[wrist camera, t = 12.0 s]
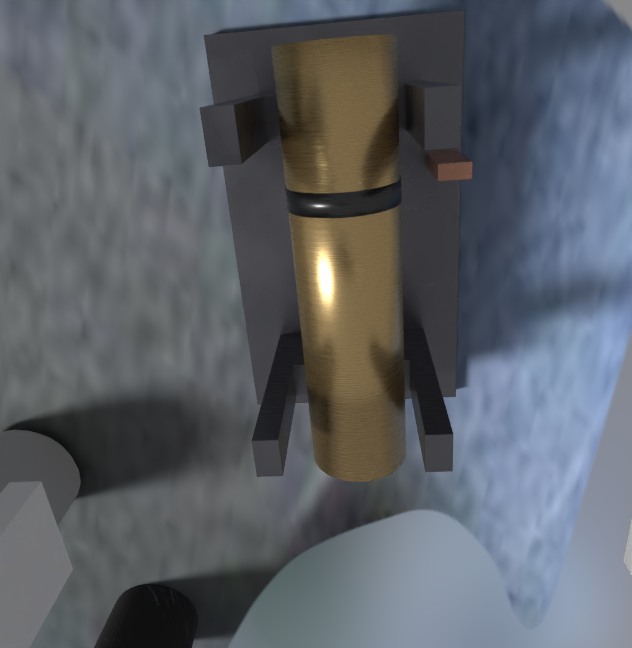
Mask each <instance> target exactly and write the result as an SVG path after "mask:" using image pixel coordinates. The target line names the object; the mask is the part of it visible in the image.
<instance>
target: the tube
mask: <svg viewBox="0 0 632 648" xmlns="http://www.w3.org/2000/svg"><path fill="white" fill-rule="evenodd" d="M271 49H272V58H273V68H274V77H275V87H276V96H277V106H278V115H279V125H280V135H281V144H282V154H283V163H284V173H285V182H286V185H285V193H286V203H287V211H288V212H289V221H290V230H291V240H292V249H293V259H294V268H295V278H296V288H297V297H298V307H299V316H300V326H301V335H302V345H303V354H304V364H305V374H306V383H307V393H308V402H309V412H310V421H311V431H312V440H313V450H314V458H315V461H316V463H317V465H318V466H319V468H320V469H321V470H322V471H324V472H325V473H326V474H328V475H330V476H332V477H334V478H337V479H340V480H345V481H351V482H365V481H372V480H377V479H380V478H383V477H385V476H388V475H389V474H391V473H393V472H394V471H396V470H397V469H398V468H399V467H400V466H401V465H402V463H403V462H404V460H405V457H406V423H405V378H404V332H403V286H402V241H401V202H402V188H401V176H400V149H399V103H398V58H397V35H393V34H383V35H364V36H351V37H339V38H329V39H319V40H310V41H302V42H294V43H288V44H282V45H276V46H273V47H271Z"/></svg>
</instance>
